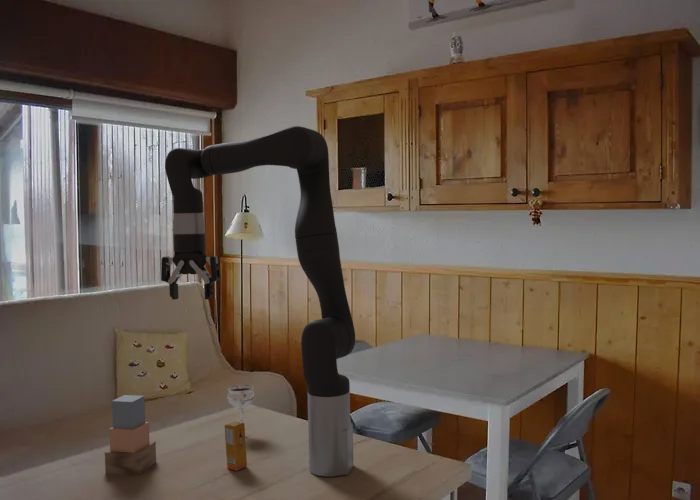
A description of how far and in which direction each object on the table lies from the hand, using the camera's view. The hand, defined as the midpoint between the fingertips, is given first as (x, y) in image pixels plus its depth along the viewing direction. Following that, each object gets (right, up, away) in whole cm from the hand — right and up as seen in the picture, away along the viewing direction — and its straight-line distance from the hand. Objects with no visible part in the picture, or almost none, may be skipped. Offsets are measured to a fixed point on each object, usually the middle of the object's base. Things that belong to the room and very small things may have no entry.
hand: (191, 299), depth 159 cm
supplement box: (+13, -37, -13) cm, 41 cm away
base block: (-11, -37, -11) cm, 40 cm away
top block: (-11, -32, -12) cm, 36 cm away
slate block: (-11, -27, -12) cm, 32 cm away
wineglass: (+11, -36, +10) cm, 38 cm away
